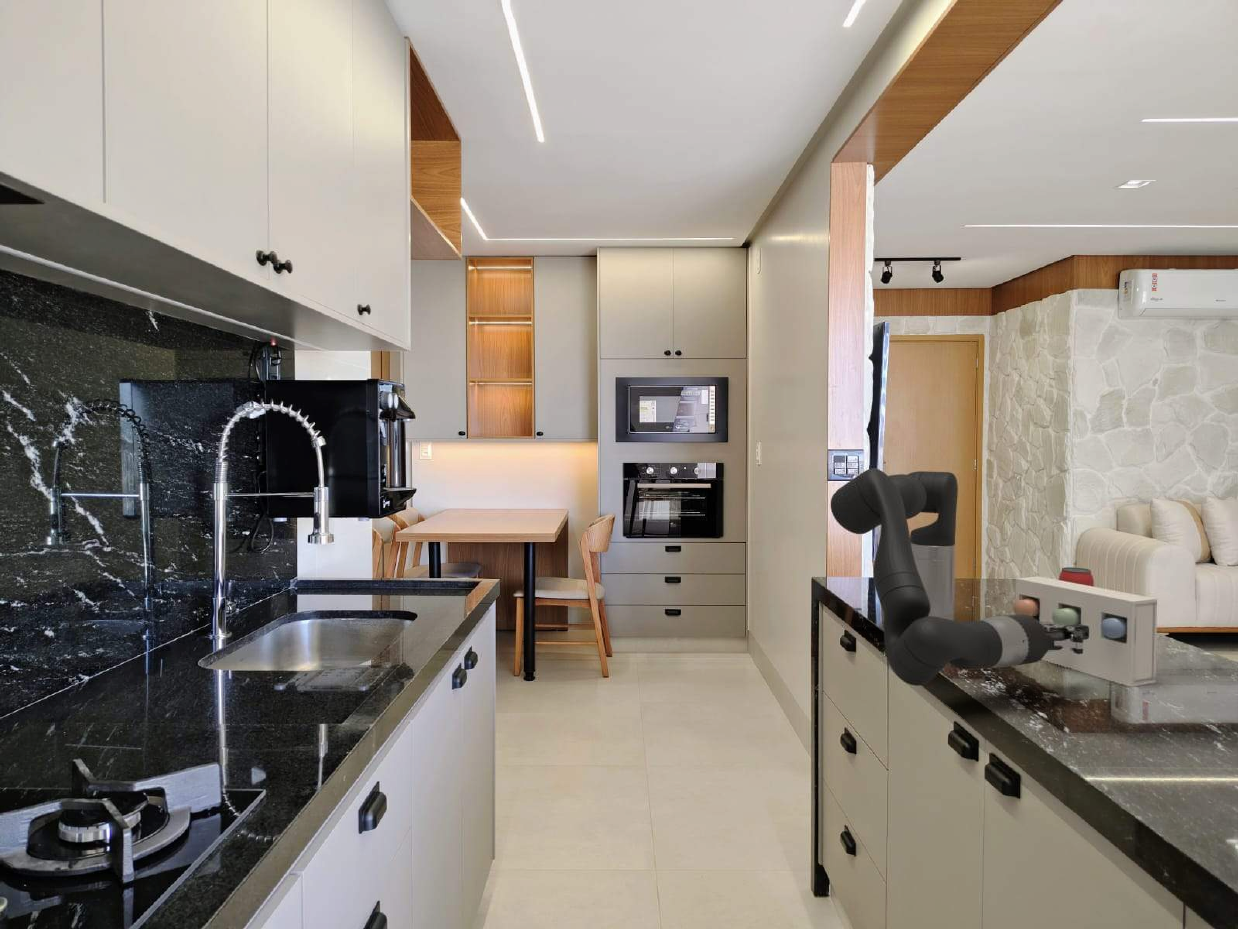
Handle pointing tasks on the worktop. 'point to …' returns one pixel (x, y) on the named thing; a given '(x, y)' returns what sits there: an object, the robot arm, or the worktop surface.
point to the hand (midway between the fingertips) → (1084, 631)
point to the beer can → (1077, 576)
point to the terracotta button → (1027, 607)
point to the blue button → (1114, 627)
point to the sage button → (1067, 616)
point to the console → (1101, 655)
